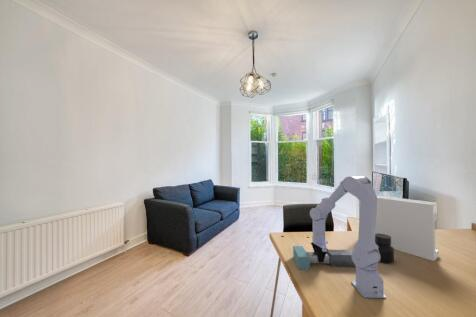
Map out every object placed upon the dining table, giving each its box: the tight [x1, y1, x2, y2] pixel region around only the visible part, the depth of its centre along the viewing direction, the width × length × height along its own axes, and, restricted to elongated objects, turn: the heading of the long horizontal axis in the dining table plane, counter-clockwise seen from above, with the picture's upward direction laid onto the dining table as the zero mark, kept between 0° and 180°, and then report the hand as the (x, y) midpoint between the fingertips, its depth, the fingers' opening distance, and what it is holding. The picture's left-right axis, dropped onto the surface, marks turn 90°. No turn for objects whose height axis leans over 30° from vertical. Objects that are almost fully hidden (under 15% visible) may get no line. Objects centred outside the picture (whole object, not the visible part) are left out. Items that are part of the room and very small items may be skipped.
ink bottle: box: [375, 234, 395, 264], centre depth 100 cm, size 10×9×12 cm
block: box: [358, 194, 440, 262], centre depth 116 cm, size 35×8×28 cm, turn 33°
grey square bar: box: [306, 251, 330, 264], centre depth 97 cm, size 4×18×4 cm, turn 87°
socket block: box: [292, 245, 311, 271], centre depth 98 cm, size 12×5×6 cm, turn 177°
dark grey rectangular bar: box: [328, 249, 355, 268], centre depth 97 cm, size 6×14×6 cm, turn 87°
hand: (319, 260), depth 97 cm, fingers closed on grey square bar, 4 cm apart
